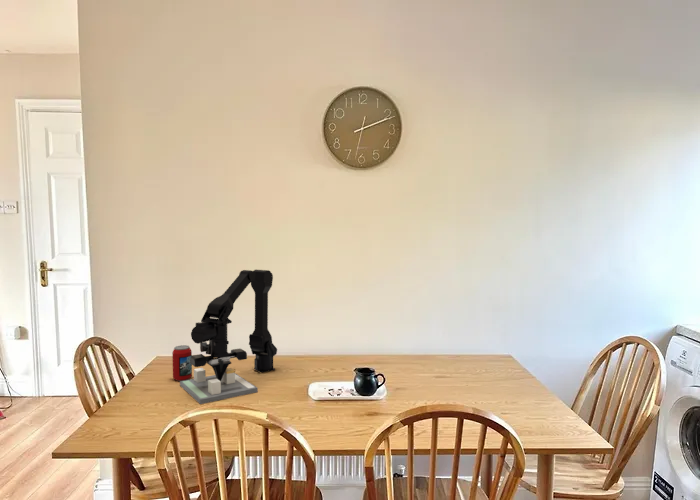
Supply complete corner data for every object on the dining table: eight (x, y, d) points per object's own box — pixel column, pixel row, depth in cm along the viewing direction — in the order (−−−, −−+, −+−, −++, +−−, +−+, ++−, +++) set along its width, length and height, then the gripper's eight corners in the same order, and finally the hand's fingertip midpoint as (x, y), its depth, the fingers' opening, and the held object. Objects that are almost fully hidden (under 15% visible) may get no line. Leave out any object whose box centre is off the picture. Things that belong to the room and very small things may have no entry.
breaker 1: (202, 378, 181) (202, 367, 181) (205, 381, 178) (205, 370, 178) (193, 380, 179) (193, 369, 179) (197, 382, 176) (197, 371, 176)
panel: (233, 375, 190) (233, 371, 190) (257, 392, 172) (257, 387, 172) (179, 385, 178) (179, 381, 178) (200, 404, 160) (200, 399, 160)
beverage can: (186, 382, 182) (185, 349, 181) (169, 381, 183) (168, 348, 182) (195, 376, 188) (194, 345, 188) (179, 375, 190) (178, 344, 189)
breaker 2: (216, 390, 169) (216, 378, 169) (220, 393, 166) (220, 381, 166) (208, 391, 167) (208, 380, 167) (211, 394, 164) (211, 383, 164)
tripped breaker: (231, 379, 180) (231, 367, 179) (235, 382, 177) (235, 370, 176) (223, 381, 178) (222, 369, 178) (226, 384, 175) (226, 371, 175)
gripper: (235, 330, 186) (235, 371, 187) (185, 336, 176) (185, 380, 176) (247, 336, 177) (247, 379, 178) (195, 342, 166) (195, 388, 167)
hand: (219, 381), depth 175 cm, fingers closed
